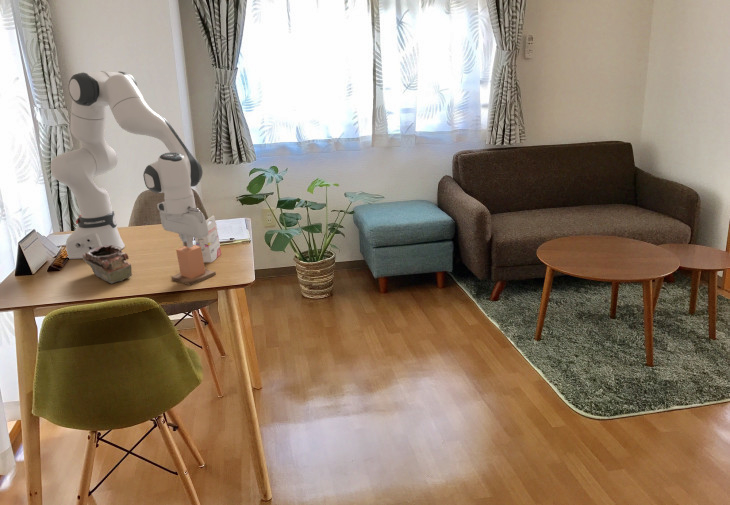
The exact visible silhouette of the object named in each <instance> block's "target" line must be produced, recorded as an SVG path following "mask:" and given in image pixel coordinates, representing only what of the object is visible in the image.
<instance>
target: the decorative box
mask: <svg viewBox="0 0 730 505" xmlns="http://www.w3.org/2000/svg"><path fill="white" fill-rule="evenodd" d="M122 249H123V248H121V247H119V246H114V245H106V246H102V247H98V248H94V249H92V250H90V251H89V252H87V253H85V254H83V255H82V256H83V258H82V260H83V261H84V262H85V264H87V265H88V266H90V268H91V270H92V272H93V273H94V275H95V276H96V277H98V278H100V279H101V280H104V281H105V282H107V283H109V284H110V285H112V284H115V283H117V282H122V281H124V280H125V279H127V278H130V277H132V275H133V274H132V270H133V269H132V264H131V263H130V262H128V261H127V260H129V255H128V253H126V252H123V251H122Z"/></svg>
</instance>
